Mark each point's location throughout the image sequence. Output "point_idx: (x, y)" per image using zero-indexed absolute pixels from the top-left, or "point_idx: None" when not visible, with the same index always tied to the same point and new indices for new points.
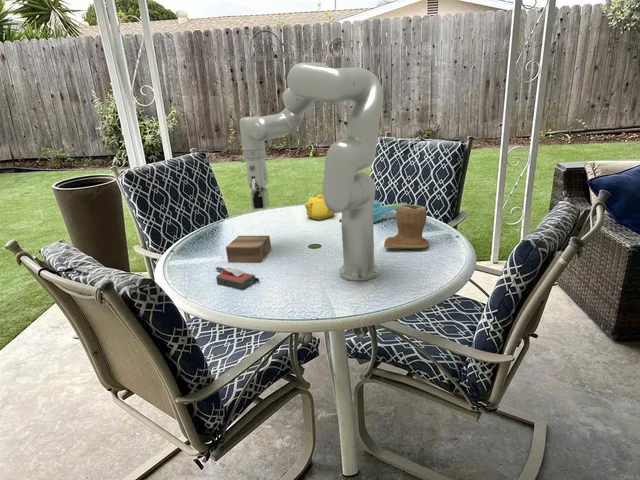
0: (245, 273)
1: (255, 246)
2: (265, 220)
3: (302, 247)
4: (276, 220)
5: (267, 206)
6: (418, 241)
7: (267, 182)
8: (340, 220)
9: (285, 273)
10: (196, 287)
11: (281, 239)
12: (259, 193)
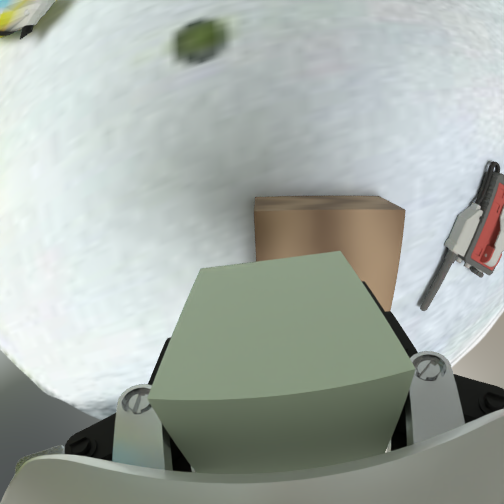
0: (494, 204)
1: (394, 227)
2: (21, 314)
3: (214, 80)
4: (10, 283)
5: (278, 261)
6: None
7: (105, 488)
8: (30, 26)
9: (444, 96)
10: (484, 302)
11: (135, 199)
12: (453, 389)
